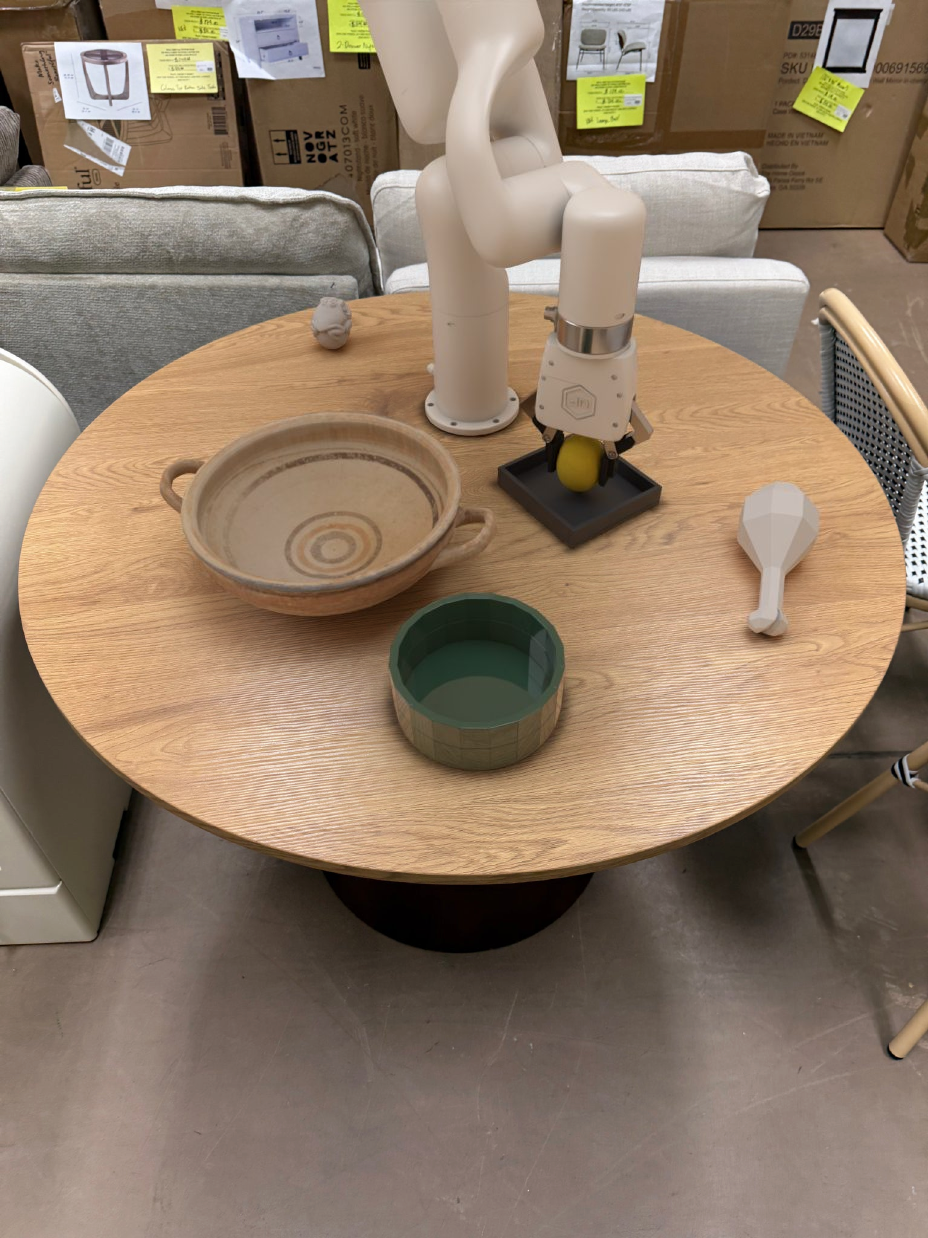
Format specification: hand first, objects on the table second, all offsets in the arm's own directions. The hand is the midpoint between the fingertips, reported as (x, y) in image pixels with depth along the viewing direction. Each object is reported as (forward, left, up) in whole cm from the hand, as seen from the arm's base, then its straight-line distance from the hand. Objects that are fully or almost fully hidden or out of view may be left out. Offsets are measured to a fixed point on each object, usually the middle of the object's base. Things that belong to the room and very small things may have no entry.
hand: (580, 471), depth 94 cm
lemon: (0, 0, -3) cm, 3 cm away
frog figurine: (-48, -7, -4) cm, 49 cm away
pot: (+18, -27, -3) cm, 33 cm away
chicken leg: (+23, +7, -4) cm, 24 cm away
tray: (0, 0, -3) cm, 3 cm away
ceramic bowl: (-7, -29, -4) cm, 30 cm away
